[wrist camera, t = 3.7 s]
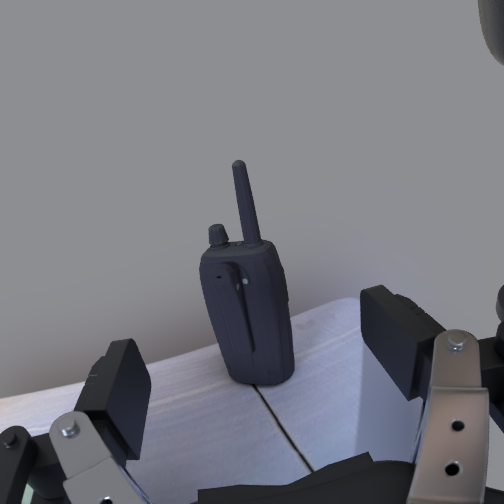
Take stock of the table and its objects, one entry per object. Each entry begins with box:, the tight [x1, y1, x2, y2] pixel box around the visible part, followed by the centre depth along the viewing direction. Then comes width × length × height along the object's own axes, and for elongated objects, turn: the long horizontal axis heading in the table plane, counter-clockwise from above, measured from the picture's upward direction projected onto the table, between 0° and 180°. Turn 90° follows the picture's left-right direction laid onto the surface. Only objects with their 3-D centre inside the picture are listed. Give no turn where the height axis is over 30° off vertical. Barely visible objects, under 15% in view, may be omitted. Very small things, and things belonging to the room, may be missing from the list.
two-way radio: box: [199, 160, 295, 385], centre depth 20 cm, size 6×4×15 cm
